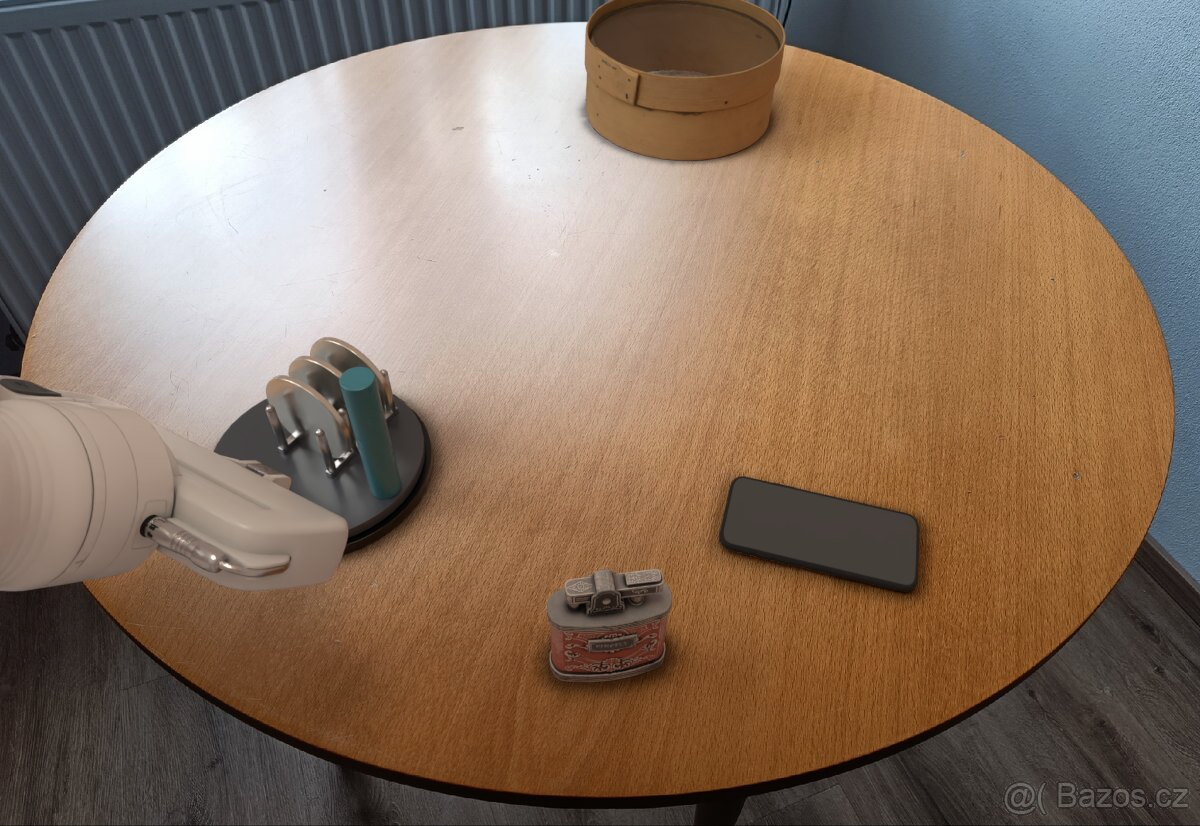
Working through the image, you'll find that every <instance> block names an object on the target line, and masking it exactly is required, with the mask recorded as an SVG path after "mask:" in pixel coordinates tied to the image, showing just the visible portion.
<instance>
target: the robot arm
mask: <svg viewBox="0 0 1200 826" xmlns="http://www.w3.org/2000/svg"><path fill="white" fill-rule="evenodd" d="M213 451H214V450H211V449H209V448H207V447H205V446H204V445H201V444H199V443H197V442H195V441H193V440H192V439H189V438H187V437H185V436H183V435H181V434H179V433H178V432H175V431H174V430H171V429H169V428H167V426H166V427H165V426H163V425H162V424H160V423H158V422H156V421H153V420H152V419H150V418H148V417H146V416H144V415H142V414H141V413H139V412H138V411H136V410H134V409H132V408H130V407H127V406H125V405H123V404H121V403H118V402H116V401H113V400H111V399H108V398H104V397H102V396H98V395H94V394H90V393H85V392H84V393H83V392H78V391H70V390H65V389H58V388H51V387H44V386H42V385H39V384H37V383H35V382H33V381H30V380H27V379H24V378H22V377H18V376H12V375H1V374H0V592H25V591H32V590H38V589H44V588H50V587H51V588H52V587H57V586H63V585H70V584H75V583H83V582H87V581H94V580H100V579H106V578H113V577H118V576H122V575H124V574H127V573H130V572H131V571H133V570H135V569H137V568H138V567H140V566H141V565H142V564H143V563H145V562H146V561H147V560H148V559H149V558H150V557H151V556H152V554H153V553H154V552H155V551H158V552H159V553H161V554H163V555H165V556H166V557H169V558H170V559H171V560H173V561H175V562H177V563H179V564H181V565H182V566H184V567H186V568H188V569H189V570H191V571H193V573H196V574H198V575H199V576H201V577H203V578H204V579H207V580H208V581H211V582H212V583H214V584H217V585H220V586H221V587H225V588H227V589H232V590H238V591H243V592H244V591H246V592H269V591H279V590H290V589H297V588H305V587H312V586H318V585H323V584H325V583H327V582H329V581H330V580H331V579H332V578H333V577H334V575H335V574H336V572H337V570H338V568H339V565H340V563H341V560H342V558H343V556H344V554H343V552H344V549H345V546H346V542H347V539H348V523H347V521H346V520H345V519H344V518H342V517H341V516H339V515H337V514H335V513H333V512H331V511H329V510H327V509H325V508H323V507H321V506H319V505H317V504H315V503H313V502H311V501H309V500H307V499H305V498H303V497H301V496H299V495H297V494H296V493H294V492H292V491H290V490H289V488H290V485H291V481H292V480H291V478H290V477H288V476H286V475H284V474H282V473H280V472H278V471H276V470H274V469H271V468H269V467H267V466H266V465H264V464H262V463H260V462H258V461H256V460H238V459H234V458H230V457H226V456H222V455H219V454H217V453H215V452H213Z"/></svg>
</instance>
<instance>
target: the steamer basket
mask: <svg viewBox="0 0 1200 826" xmlns="http://www.w3.org/2000/svg"><path fill="white" fill-rule="evenodd" d="M786 38H787V37H786V30H785V28H784V26H783V24H781V22H780V21H779V19H778V18H777V17H776V16H775V15H773V14H771V12H769V11H768V10H767V9H765V8H762V7H760V6H758V5H757V4H755V3H752V2H750V1H748V0H609V1H607V2H605V3H603V4H601V5H600V6H598V7H597V8H596V9H595V10H594V11H593V13H592V14H591V15H590V16H589V18H588V20H587V23H586V26H585V38H584V39H585V40H584V68H585V71H586V85H585V86H586V87H585V111H586V116H587V120H588V121H589V123H590V125H591V126H592V127H593V129H594V130H595V131H596V132H597V133H598V134H599V135H600V136H601V137H603V138H604V139H606V140H608V141H609V142H611V143H612V144H614V145H616V146H618V147H620V148H622V149H625V150H627V151H629V152H632V153H635V154H639V155H642V156H646V157H651V158H656V159H660V160H671V161H672V160H673V161H703V160H704V161H705V160H711V159H717V158H721V157H725V156H729V155H732V154H735V153H738V152H740V151H743V150H745V149H746V148H749V147H751V146H752V145H753V144H755V143H756V142H757V141H758V140H759V139H761V137H762V136H763V135H764V134H765V133H766V131H767V129H768V126H769V124H770V117H771V111H772V105H773V100H774V94H775V88H776V84H777V83H778V81H779V79H780V77H781V71H782V64H783V60H784V52H785V45H786ZM677 72H681V73H682V74H681V73H677ZM664 73H665V74H664ZM674 73H675V74H674ZM691 73H692V74H696V76H694V75H691V76H690V74H691ZM699 75H701V76H699Z"/></svg>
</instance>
